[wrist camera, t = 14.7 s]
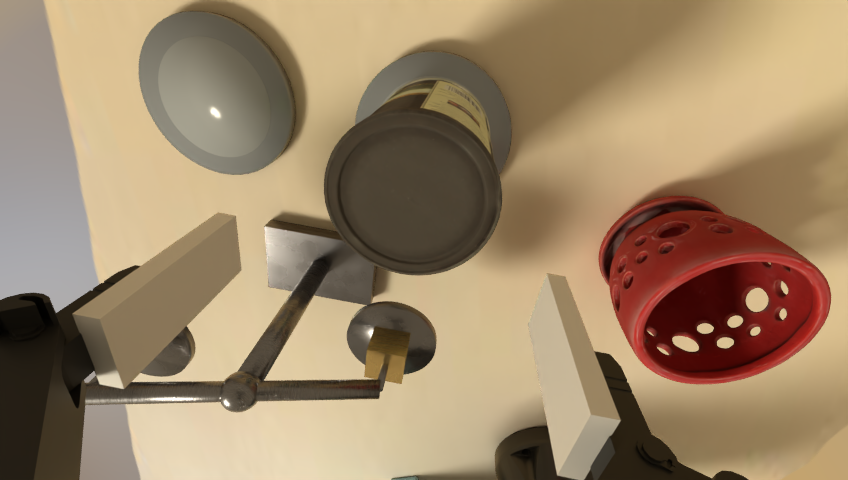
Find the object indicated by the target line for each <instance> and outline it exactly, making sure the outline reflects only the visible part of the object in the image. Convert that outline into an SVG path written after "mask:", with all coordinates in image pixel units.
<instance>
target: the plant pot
mask: <svg viewBox="0 0 848 480" xmlns="http://www.w3.org/2000/svg"><path fill="white" fill-rule="evenodd" d="M768 262H771V265H770V264H768ZM599 266H600V270H601V273H602V276H603V278H604V279H605V281H606V282H607V284H608V285H609V286H610V294H611V299H612V303H613V307H614V310H615V313H616V316H617V319H618V321H619V323H620V326H621V328H622V330H623V332H624V334H625V336H626V338H627V340H628V342H629V344H630V346H631V347H632V349H633V351H634V353H635V354H636V356H637V357H638V358H639V360H640V361H641V362H642V363H643V364H644V365H645V366H646V367H647V368H649V369H650V370H651V371H653V372H655V373H656V374H658V375H660V376H662V377H665V378H667V379H670V380H673V381H677V382H681V383H689V384H718V383H726V382H731V381H736V380H741V379H745V378H748V377H751V376H754V375H757V374H759V373H762V372H764V371H766V370H768V369H771V368H773V367H775V366H777V365H779V364H781V363H782V362H784V361H786V360H787V359H789V358H790V357H792V356H793V355H795V354H796V353H797V352H799V351H800V350H801V349H802V348H804V347H805V346H806V345H807V344H808V343H809V342H810V341H811V340H812V339H813V338H814V337H815V335H816V334H817V333H818V332H819V330H820V329H821V327H822V326H823V324H824V323H825V321H826V318H827V316H828V313H829V310H830V304H831V292H830V287H829V285H828V282H827V280H826V278H825V277H824V275H823V274H822V273H821V271H820V270H819V269H818V268H817V267H816V266H815V265H813V264H812V263H811V262H810V261H808V260H807V259H806V258H804V257H803V256H802V255H800V254H799V253H798V252H796V251H795V250H794V249H792V248H791V247H789V246H788V245H786V244H784V243H783V242H781V241H779V240H778V239H776V238H774V237H773V236H771V235H769V234H767V233H766V232H764V231H763V230H761V229H760V228H758V227H756V226H754V225H752V224H750V223H747V222H745V221H742V220H740V219H737V218H734V217H731V216H728V215H725V214H724V213H723V212H722V211H721V210H720V209H718V208H717V207H716V206H714V205H713V204H711V203H709V202H707V201H705V200H702V199H698V198H695V197H688V196H670V197H663V198H658V199H654V200H651V201H648V202H645V203H643V204H640V205H638V206H636V207H635V208H633V209H631V210H630V211H628V212H627V213H626V214H624V215H623V216H622V217H621V218H620V219H619V220H617V221H616V222H615V224H614V225H613V226H612V227H611V228H610V230H609V231H608V232H607V234H606V236H605V237H604V240H603V242H602V244H601V247H600V251H599ZM781 281H783V282H784V283H785V284H786V285H787V287H788V290H789V291H788V294H787V295H786V294H784V293H783V291H782V289H781ZM754 288H762V289H763V290H764V291H765V292H766V293H767V295H768V298H769V302H768V305H767V307H766V308H765V309H764V310H762V311H760V312H753V311H751V310H750V309H749V308H748V307H747V305H746V301H745V300H746V296H747V294H748V293H749V292H750V291H751V290H752V289H754ZM783 308H784V309H786V311H787V316H786V318H785V319H784V320H782V319H781V318H780V316H779V313H780V311H781V309H783ZM735 315H738V316H741V317H742V318H743V323H742V324H741V325H740V326H738V327H736V328H731V327H729V326H728V324H727V321H728V320H729V318H730V317H732V316H735ZM702 323H708V324H711V325H712V326H713V327H714V330H713V332H711V333H708V334H702V333H699V332H698V331H697V326H698V325H700V324H702ZM757 326H758V327H760V329H761V331H760V333H759V334H758V335H756V336H751V334H750V331H751V329H752V328H754V327H757ZM647 331H650V332H651V333H652V334H653V335H654V336H652V335H650V334H649V333H648V332H647ZM674 336H685V337H688V338H691V339H693V340H694V341H695V342H696V343H697V344H698V346H699V350H698V351H696V352H688V351H685V350H682V349H681V348H679V347H677V346H675V345H674V344H673V342H672V338H673V337H674ZM722 337H729V338H732V339H733V340H734V344H733V345H732V346H731V347H730V348H726V349H724V348H720V347H718V346H717V340H718V339H720V338H722ZM657 347H660V348H662V349H664V350H666V351H667V352H668V353H669V355H665V354H663V353H662V352H660V351H659V350H658V349H657Z"/></svg>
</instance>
